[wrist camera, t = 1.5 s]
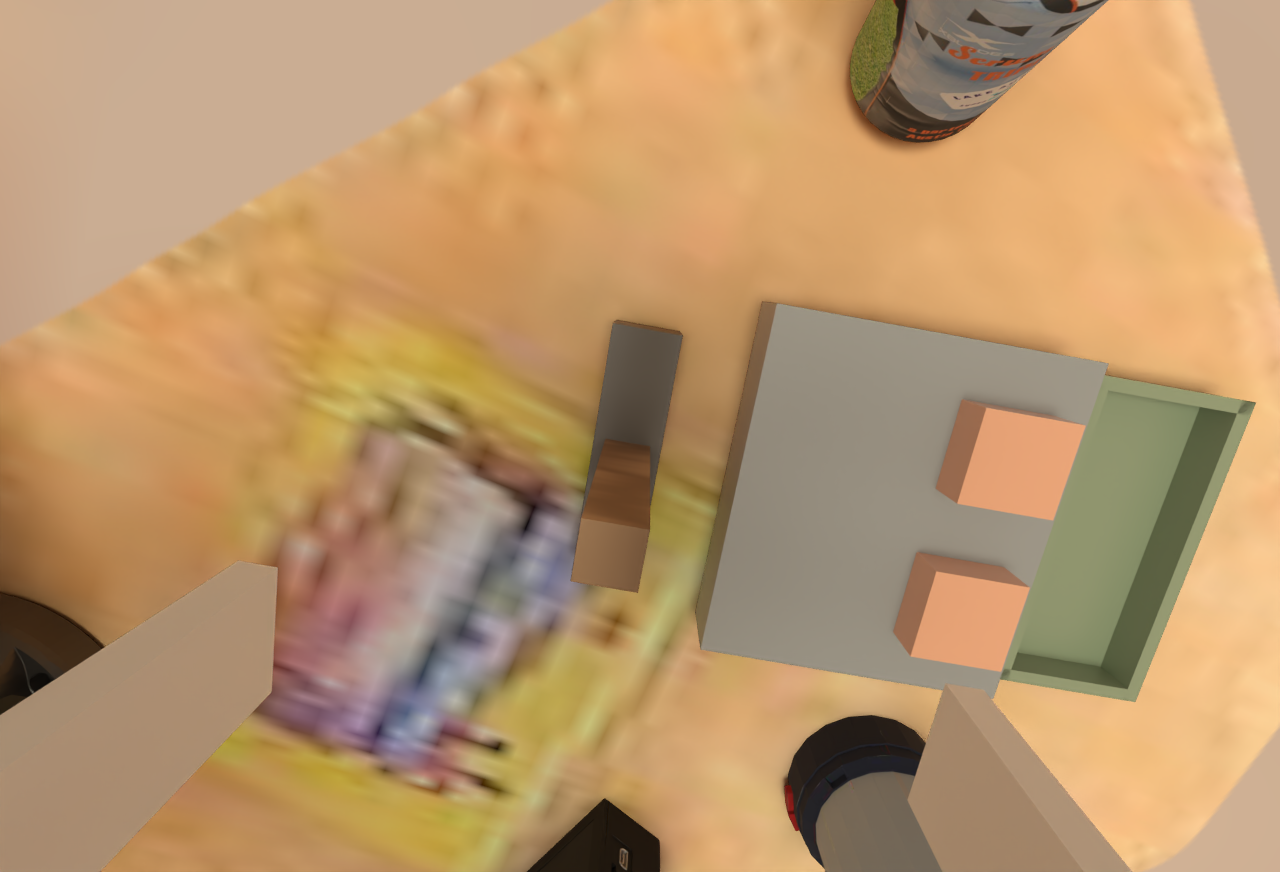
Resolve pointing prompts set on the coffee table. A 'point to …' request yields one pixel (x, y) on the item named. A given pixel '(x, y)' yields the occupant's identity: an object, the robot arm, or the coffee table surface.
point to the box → (1124, 536)
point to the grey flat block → (863, 488)
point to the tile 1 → (960, 611)
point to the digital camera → (603, 845)
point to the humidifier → (859, 797)
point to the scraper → (626, 455)
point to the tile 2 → (1009, 459)
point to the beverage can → (951, 58)
